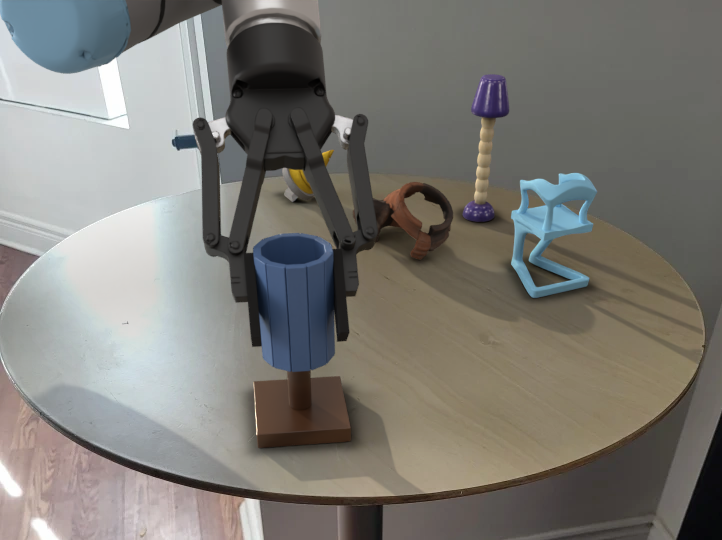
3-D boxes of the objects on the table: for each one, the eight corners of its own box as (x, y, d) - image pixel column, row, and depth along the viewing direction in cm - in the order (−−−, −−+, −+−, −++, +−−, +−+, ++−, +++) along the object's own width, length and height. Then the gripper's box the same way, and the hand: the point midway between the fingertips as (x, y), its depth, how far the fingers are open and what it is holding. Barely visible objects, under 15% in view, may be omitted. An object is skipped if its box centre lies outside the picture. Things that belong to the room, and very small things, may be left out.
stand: (258, 448, 66) (245, 323, 58) (254, 394, 72) (242, 274, 64) (351, 441, 67) (351, 318, 59) (340, 388, 73) (339, 269, 65)
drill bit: (296, 189, 110) (345, 144, 104) (300, 218, 108) (351, 175, 102) (267, 170, 106) (316, 123, 100) (270, 201, 104) (321, 155, 98)
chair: (547, 256, 95) (566, 154, 87) (589, 286, 89) (613, 180, 81) (494, 267, 92) (508, 163, 84) (533, 298, 87) (552, 191, 79)
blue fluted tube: (264, 374, 62) (254, 269, 56) (260, 335, 67) (251, 234, 61) (338, 369, 63) (336, 265, 57) (330, 331, 68) (328, 231, 61)
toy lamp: (453, 212, 104) (466, 74, 93) (480, 205, 106) (496, 69, 94) (475, 225, 101) (491, 84, 90) (503, 217, 103) (522, 79, 92)
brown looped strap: (421, 225, 102) (450, 179, 95) (435, 284, 98) (467, 241, 92) (336, 212, 96) (361, 162, 90) (349, 274, 93) (375, 228, 86)
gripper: (387, 74, 66) (412, 344, 65) (157, 78, 63) (181, 358, 63) (400, 15, 58) (429, 319, 58) (141, 17, 56) (167, 334, 55)
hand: (300, 339), depth 60 cm, fingers closed on blue fluted tube, 6 cm apart
